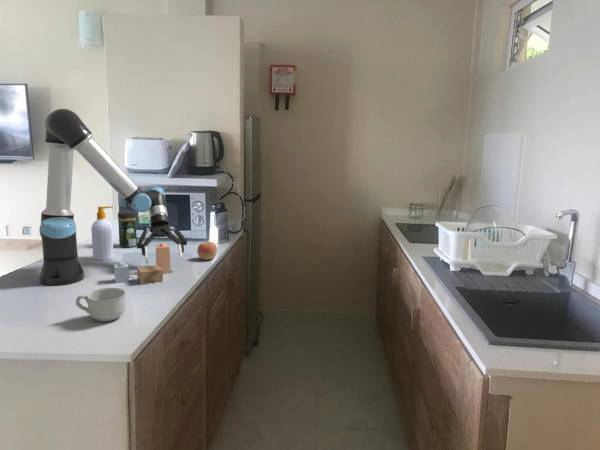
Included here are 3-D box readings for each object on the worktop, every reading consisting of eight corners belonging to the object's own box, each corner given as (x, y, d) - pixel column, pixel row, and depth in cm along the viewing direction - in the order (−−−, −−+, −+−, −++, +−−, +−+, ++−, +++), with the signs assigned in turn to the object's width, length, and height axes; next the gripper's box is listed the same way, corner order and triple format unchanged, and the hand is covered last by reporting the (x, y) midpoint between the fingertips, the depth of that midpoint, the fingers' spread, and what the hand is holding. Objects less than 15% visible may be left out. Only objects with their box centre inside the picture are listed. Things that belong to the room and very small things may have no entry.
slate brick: (115, 283, 172) (114, 265, 171) (114, 279, 177) (114, 262, 176) (129, 281, 174) (128, 264, 173) (128, 278, 179) (127, 261, 177)
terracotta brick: (157, 274, 185) (156, 245, 183) (156, 271, 189) (155, 242, 187) (170, 273, 187) (169, 244, 185) (168, 270, 191) (168, 242, 189)
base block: (141, 285, 171) (140, 272, 170) (137, 279, 178) (137, 267, 177) (162, 282, 175) (162, 270, 174) (158, 277, 182) (158, 265, 181)
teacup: (131, 311, 144) (130, 287, 142) (119, 325, 133) (118, 299, 131) (86, 311, 143) (85, 287, 142) (70, 325, 132) (69, 298, 131)
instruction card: (133, 277, 179) (133, 276, 179) (125, 274, 183) (124, 274, 183) (151, 273, 186) (151, 272, 186) (142, 270, 189) (142, 270, 189)
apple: (215, 261, 206) (214, 244, 204) (195, 261, 206) (195, 244, 204) (218, 257, 214) (218, 240, 213) (200, 256, 214) (199, 240, 213)
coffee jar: (117, 245, 235) (115, 209, 231) (133, 243, 239) (131, 208, 236) (123, 248, 227) (121, 212, 224) (139, 247, 232) (137, 211, 228)
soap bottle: (115, 259, 206) (112, 207, 202) (92, 261, 203) (89, 208, 199) (115, 255, 214) (112, 205, 210) (93, 256, 211) (90, 205, 206)
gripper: (187, 221, 205) (194, 262, 194) (128, 224, 195) (132, 267, 184) (189, 211, 199) (196, 252, 188) (128, 214, 189) (132, 257, 178)
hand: (164, 260), depth 186 cm, fingers open, 13 cm apart
